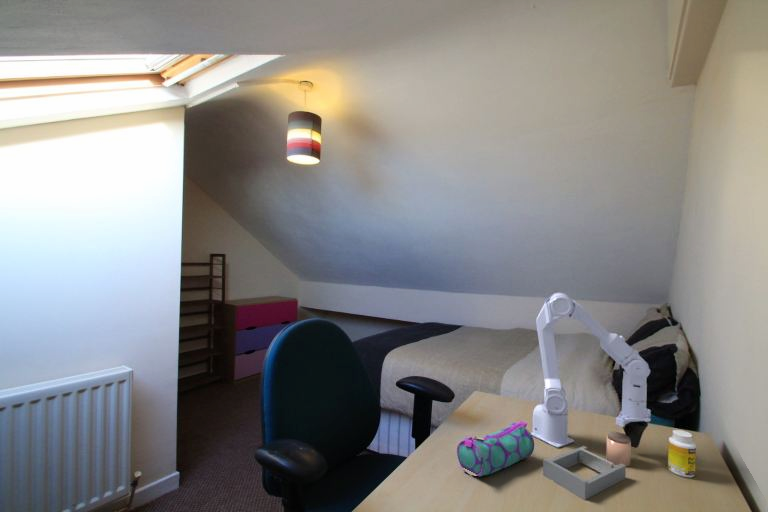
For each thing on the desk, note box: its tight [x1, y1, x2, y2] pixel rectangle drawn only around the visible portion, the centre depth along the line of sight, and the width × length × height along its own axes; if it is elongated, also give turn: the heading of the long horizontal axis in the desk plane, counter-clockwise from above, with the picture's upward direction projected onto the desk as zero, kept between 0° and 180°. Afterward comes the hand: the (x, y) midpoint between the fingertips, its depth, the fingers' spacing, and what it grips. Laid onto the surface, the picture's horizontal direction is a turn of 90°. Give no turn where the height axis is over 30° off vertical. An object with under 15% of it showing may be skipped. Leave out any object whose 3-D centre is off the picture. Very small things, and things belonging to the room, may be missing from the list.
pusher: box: [579, 448, 615, 474], centre depth 98 cm, size 8×1×3 cm, turn 30°
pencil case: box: [456, 420, 535, 477], centre depth 100 cm, size 21×9×10 cm, turn 122°
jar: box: [605, 431, 632, 468], centre depth 103 cm, size 6×6×7 cm
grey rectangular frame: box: [542, 445, 627, 501], centre depth 96 cm, size 11×17×4 cm, turn 120°
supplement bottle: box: [667, 429, 697, 478], centre depth 98 cm, size 6×6×10 cm
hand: (632, 446), depth 107 cm, fingers closed
